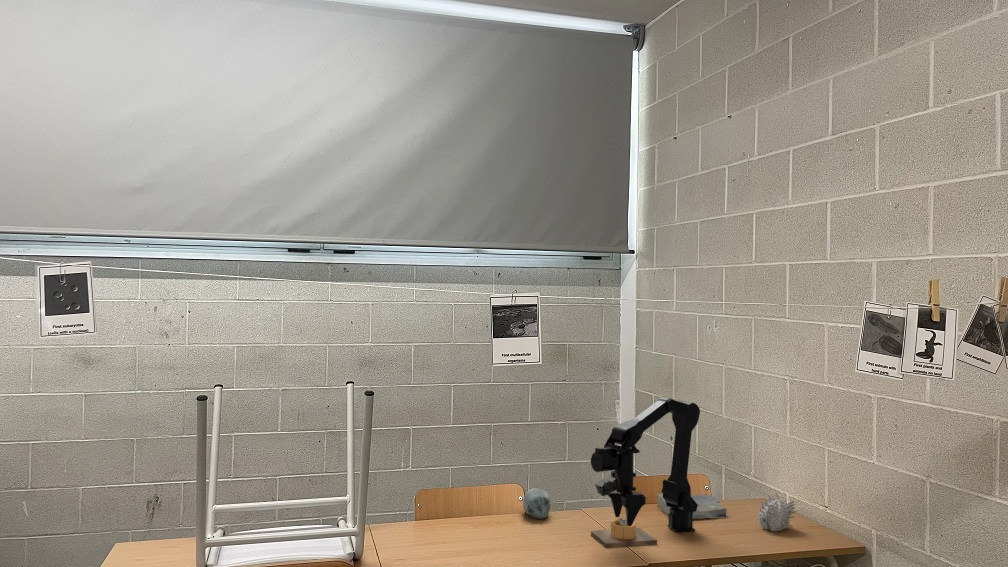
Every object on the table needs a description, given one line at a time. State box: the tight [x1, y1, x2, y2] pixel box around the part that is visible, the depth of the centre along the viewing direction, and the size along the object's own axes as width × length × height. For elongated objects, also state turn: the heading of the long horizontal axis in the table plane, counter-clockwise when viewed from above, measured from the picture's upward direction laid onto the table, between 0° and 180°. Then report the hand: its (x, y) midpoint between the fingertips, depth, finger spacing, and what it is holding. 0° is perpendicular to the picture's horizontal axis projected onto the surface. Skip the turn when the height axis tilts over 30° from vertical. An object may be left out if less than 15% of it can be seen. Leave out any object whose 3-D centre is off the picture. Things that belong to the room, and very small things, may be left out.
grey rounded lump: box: [522, 487, 551, 520], centre depth 246 cm, size 14×10×10 cm
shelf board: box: [590, 527, 658, 549], centre depth 221 cm, size 16×12×1 cm
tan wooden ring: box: [610, 519, 637, 539], centre depth 221 cm, size 7×7×4 cm
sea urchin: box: [756, 492, 798, 532], centre depth 234 cm, size 12×11×12 cm
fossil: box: [656, 492, 728, 520], centre depth 253 cm, size 22×5×19 cm
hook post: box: [617, 517, 627, 526], centre depth 221 cm, size 4×4×5 cm
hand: (623, 521), depth 221 cm, fingers open, 9 cm apart
